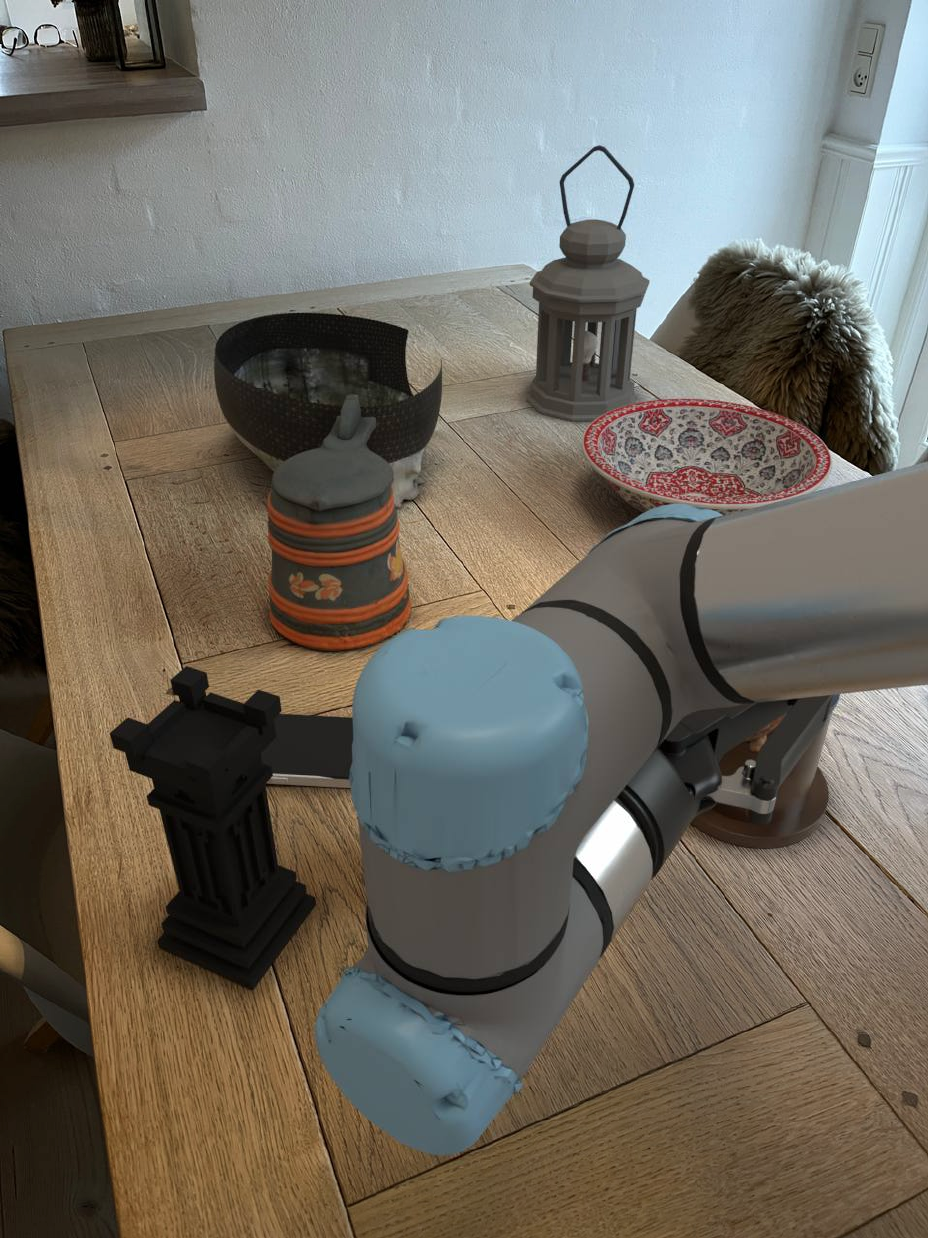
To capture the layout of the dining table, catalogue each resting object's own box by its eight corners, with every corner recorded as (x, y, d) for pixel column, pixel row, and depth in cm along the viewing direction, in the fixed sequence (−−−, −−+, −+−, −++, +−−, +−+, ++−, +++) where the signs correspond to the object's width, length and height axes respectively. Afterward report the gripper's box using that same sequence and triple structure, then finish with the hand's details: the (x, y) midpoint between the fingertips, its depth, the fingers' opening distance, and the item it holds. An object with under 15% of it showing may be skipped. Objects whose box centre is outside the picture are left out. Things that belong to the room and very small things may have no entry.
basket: (424, 404, 149) (422, 295, 140) (458, 519, 121) (457, 392, 111) (230, 416, 146) (215, 304, 136) (218, 537, 117) (197, 406, 108)
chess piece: (158, 948, 71) (99, 735, 59) (227, 868, 77) (185, 660, 65) (252, 990, 68) (209, 776, 57) (316, 904, 74) (288, 694, 62)
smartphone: (406, 783, 83) (227, 773, 83) (407, 794, 83) (229, 784, 84) (416, 719, 89) (250, 710, 90) (416, 729, 90) (251, 721, 91)
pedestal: (860, 808, 82) (896, 694, 75) (743, 873, 76) (771, 756, 69) (745, 718, 91) (768, 610, 84) (633, 771, 85) (648, 659, 78)
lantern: (635, 380, 157) (660, 134, 137) (640, 424, 143) (668, 159, 123) (528, 376, 158) (537, 132, 138) (523, 419, 145) (532, 156, 124)
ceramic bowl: (806, 462, 133) (818, 406, 129) (832, 579, 110) (848, 515, 105) (586, 446, 137) (590, 390, 133) (567, 555, 114) (571, 493, 109)
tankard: (294, 551, 115) (275, 385, 103) (421, 555, 114) (416, 388, 103) (256, 650, 99) (229, 468, 88) (403, 655, 99) (395, 472, 87)
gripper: (420, 806, 53) (619, 602, 69) (768, 980, 44) (905, 701, 60) (416, 696, 49) (629, 505, 64) (800, 865, 40) (939, 597, 56)
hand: (762, 600), depth 62 cm, fingers closed on figurine, 6 cm apart
